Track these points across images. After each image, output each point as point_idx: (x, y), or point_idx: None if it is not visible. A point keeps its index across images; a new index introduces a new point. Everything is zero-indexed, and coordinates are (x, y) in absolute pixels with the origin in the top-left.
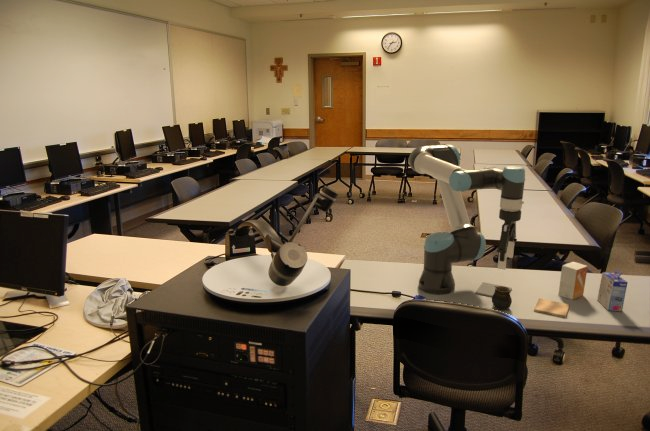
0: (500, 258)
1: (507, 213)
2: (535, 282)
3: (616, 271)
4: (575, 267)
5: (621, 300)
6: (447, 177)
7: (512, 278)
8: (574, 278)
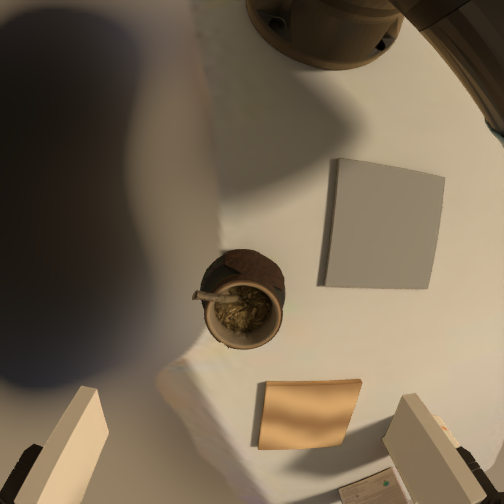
0: (21, 465)
1: None
2: (478, 339)
3: None
4: None
5: None
6: None
7: (496, 272)
8: (406, 481)
